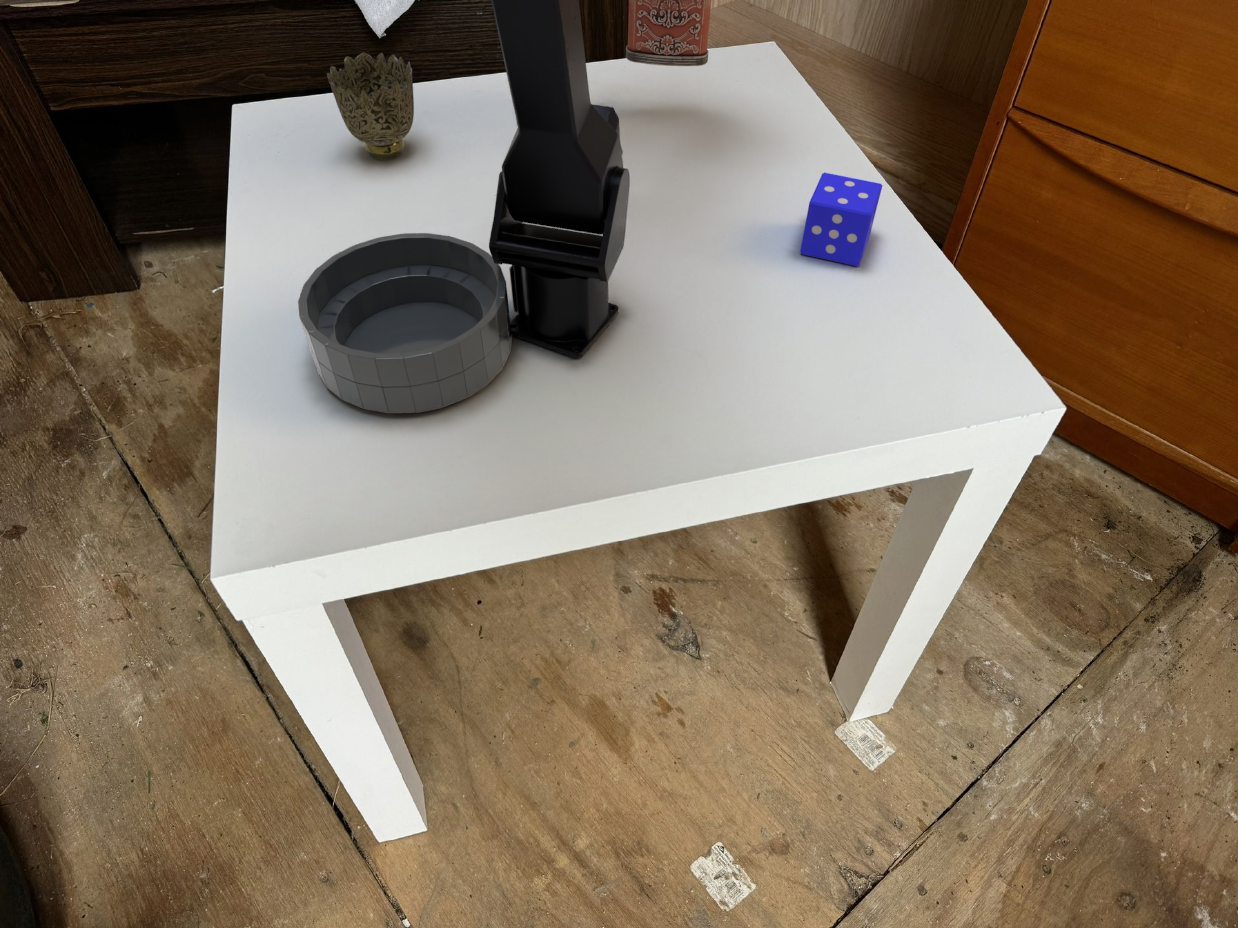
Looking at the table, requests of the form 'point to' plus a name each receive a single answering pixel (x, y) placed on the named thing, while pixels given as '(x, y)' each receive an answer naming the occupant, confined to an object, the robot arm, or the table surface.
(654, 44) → the lighter
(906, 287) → the table surface
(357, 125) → the cup
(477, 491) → the table surface
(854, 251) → the die
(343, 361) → the bowl
